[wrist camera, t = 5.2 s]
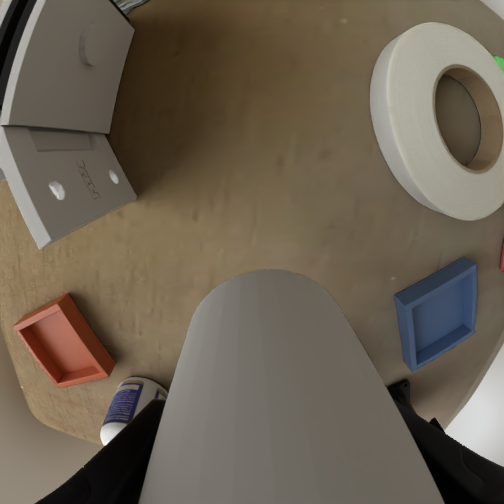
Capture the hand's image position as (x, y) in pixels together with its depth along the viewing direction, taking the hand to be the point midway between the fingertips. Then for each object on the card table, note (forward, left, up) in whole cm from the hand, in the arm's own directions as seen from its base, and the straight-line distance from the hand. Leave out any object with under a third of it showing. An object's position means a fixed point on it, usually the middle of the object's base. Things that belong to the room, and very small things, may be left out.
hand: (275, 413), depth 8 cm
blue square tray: (-11, -13, -13) cm, 22 cm away
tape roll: (+5, -19, -10) cm, 22 cm away
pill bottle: (-8, +14, -13) cm, 21 cm away
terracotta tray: (0, +18, -13) cm, 22 cm away
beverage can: (0, 0, -5) cm, 5 cm away
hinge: (+14, +5, -13) cm, 19 cm away
